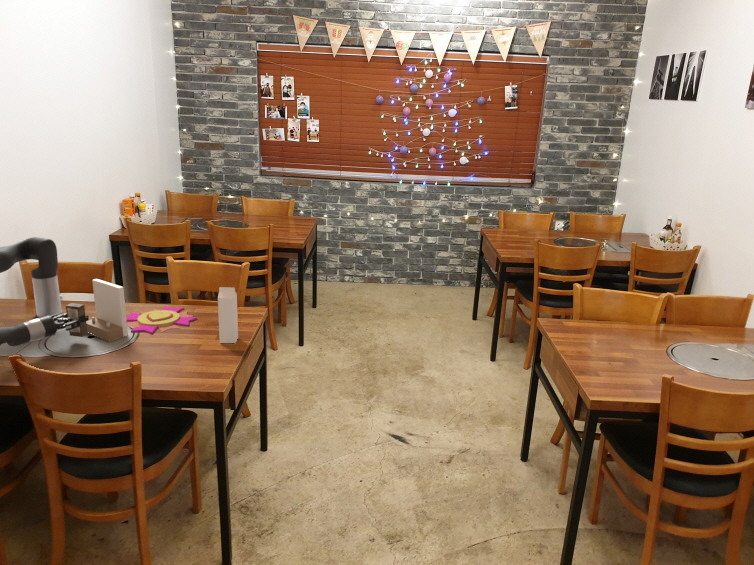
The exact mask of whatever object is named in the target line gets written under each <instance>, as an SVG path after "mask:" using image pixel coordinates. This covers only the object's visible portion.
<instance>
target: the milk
mask: <svg viewBox="0 0 754 565" xmlns="http://www.w3.org/2000/svg"><path fill="white" fill-rule="evenodd" d="M237 294H238V293H237V292H236V288H235V287H226V286H225V287H223V286H220V287H219V288H218V296H217V311H218V314H217V315H218V331H219V334H218V335H219V344H220V343H235V342H236V343H237V341H238V340H239V324H238V318H239V317H238V295H237ZM237 339H238V340H237ZM236 343H235V344H236Z"/></svg>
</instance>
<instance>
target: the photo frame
mask: <svg viewBox="0 0 754 565" xmlns="http://www.w3.org/2000/svg"><path fill="white" fill-rule="evenodd" d="M85 308H86V307H85V304H84V303H83V304H82V303H75V302H74V303H73V302H71V303H68V304H66V305H65V311H66V312H65V313H67V318H69V317H71V318H78V317H81V316H84V315H86V309H85ZM73 321H74V320H73ZM69 322H70V320H68V323H69ZM68 334H69V336H70V337H71V336H72V337H79V338H84V337H86V336H88V334H89V333H88V331H87V323H86V322H82V323H81V326H80V327H77V328H74V329H71V330H69V331H68Z"/></svg>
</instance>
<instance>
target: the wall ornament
mask: <svg viewBox="0 0 754 565" xmlns="http://www.w3.org/2000/svg"><path fill="white" fill-rule="evenodd" d="M183 310H185V307H184V306H183V307H182V306H181V307H170V306H166V305H164V306H163V308H161V309H160V310H158V308H154V309H151V310H149V311H138V312H132V311H130V312H129V316H126V319H127V326H128V325H129V326H128V327H131V326H132V327H134V328H133V329H130V333H141V332H143V333H147V334H151V335H153V334H154V333H155V332H156V330H157V329H158V330H159V332H161V333H164V332H166V331H168V330H173V329H174V330H175V329H176V330H178V328H180V327H179V326H182V325H184V326H183V327H188V326H190V323H191V322H194V321H196V320H198V317H197V316H196V317H193V316H194V315H191V314H188V312H187V311H188V310H186V311H183ZM193 320H194V321H193ZM190 321H191V322H190ZM175 324H176V325H175ZM135 331H136V332H135Z"/></svg>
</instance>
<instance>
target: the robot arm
mask: <svg viewBox="0 0 754 565" xmlns="http://www.w3.org/2000/svg"><path fill="white" fill-rule="evenodd" d="M28 260H34V261H38V262H37V263H38V267H35V268H33V269H32V270H31V272H30V273H31V274H30V275H31V280H32V281H31V282H32V287H33V288H32V289H33V297H34V299H33V300H34V304H35V311H36V318H33V319H29V320H26V321H24V322H22V323H19V324H14V325H11V326H0V346H1V345H3V344H7V345H8V346H10V347H17V346H21V345H24V344H27V343H30V342H37V341H38V340H43V339H46V338H48V337H49V338H50V337H51V336H54V335H56V333H57V332H58V330H64V329H65V331H66V332H69V330H71V329H74V328H77V327H80V326H81V323H82V322H86V321H88V320H90V318H89V315H88V314H85V315H84V316H81V317H78V318H71V317H69V318H67V312H64V313H63V311H62V304H61V303H62V302H61V295H60V294H61V293H60V288H59V279H58V270H59V269H58V268H59V260H58V249H57V245H56V242H55V241H54V240H53V239H50V238H45V237H38V236H33V237H29V238H25V239H23V240H21V241H19V242H16V243H14V244H9V245H7V246H1V247H0V274H1V273H4V272H7V271H8V270H10V269H11V268H12V267H13V266H14V265H15V264H16V263H19V262H23V261H28ZM68 320H70V322H69V323H68ZM73 320H74V321H73Z"/></svg>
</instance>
